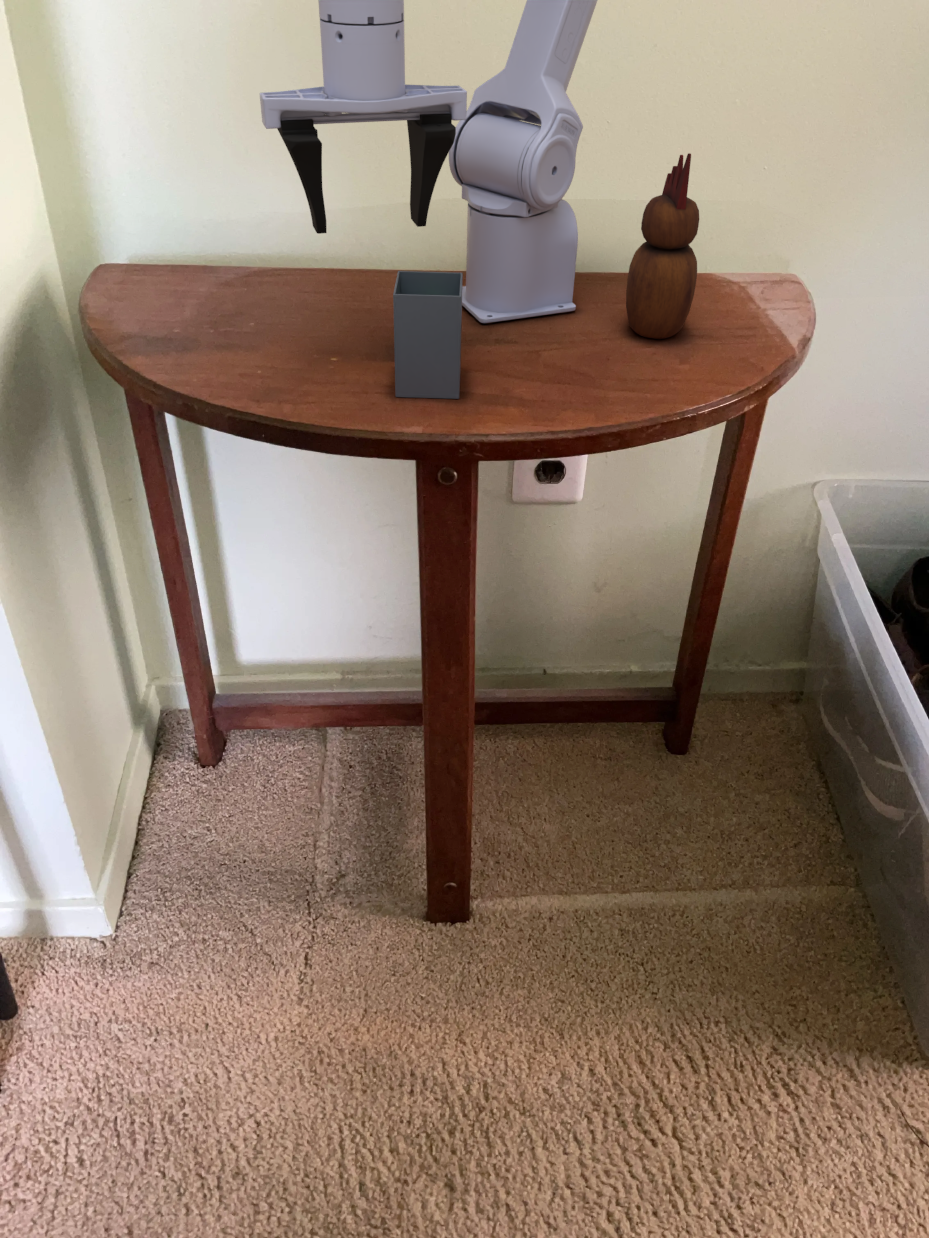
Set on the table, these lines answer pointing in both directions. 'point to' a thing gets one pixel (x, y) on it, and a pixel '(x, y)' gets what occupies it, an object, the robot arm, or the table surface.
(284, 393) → the table surface
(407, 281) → the bin
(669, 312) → the wooden figurine
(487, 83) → the robot arm
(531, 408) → the table surface
